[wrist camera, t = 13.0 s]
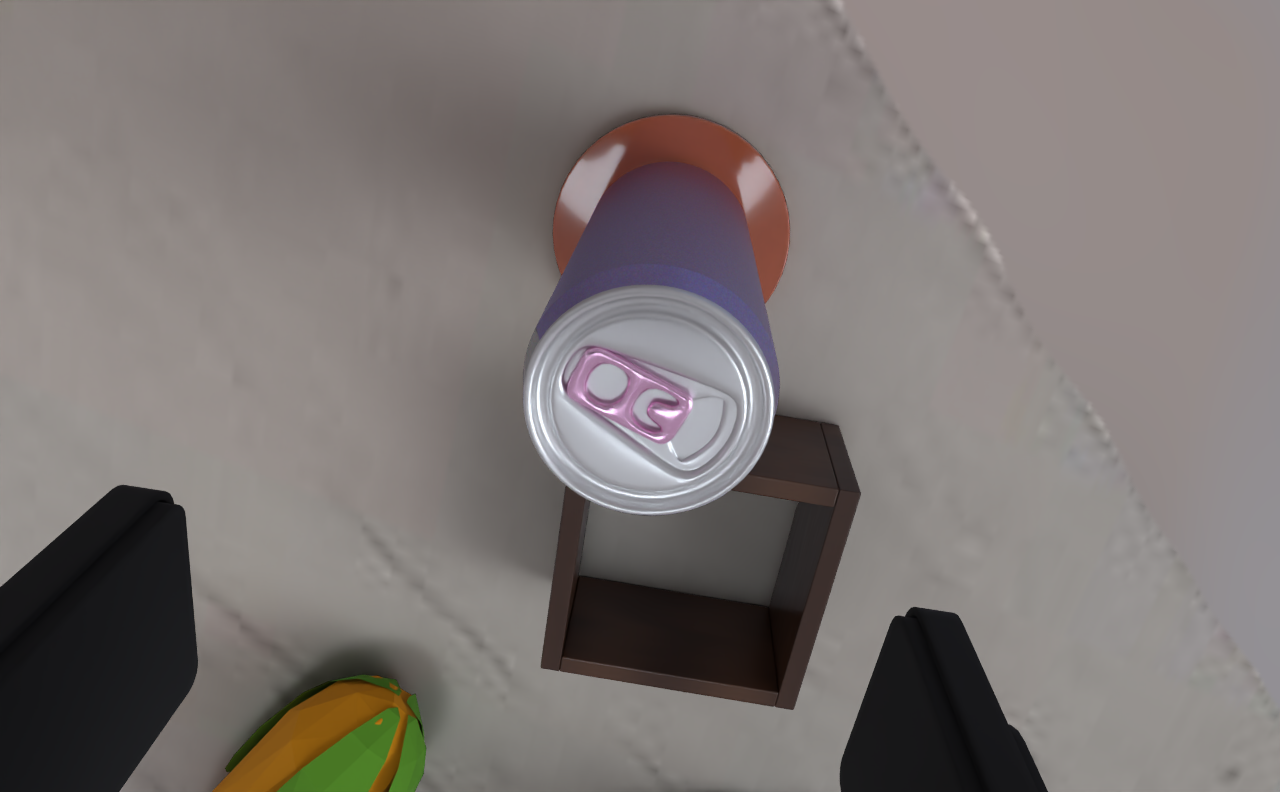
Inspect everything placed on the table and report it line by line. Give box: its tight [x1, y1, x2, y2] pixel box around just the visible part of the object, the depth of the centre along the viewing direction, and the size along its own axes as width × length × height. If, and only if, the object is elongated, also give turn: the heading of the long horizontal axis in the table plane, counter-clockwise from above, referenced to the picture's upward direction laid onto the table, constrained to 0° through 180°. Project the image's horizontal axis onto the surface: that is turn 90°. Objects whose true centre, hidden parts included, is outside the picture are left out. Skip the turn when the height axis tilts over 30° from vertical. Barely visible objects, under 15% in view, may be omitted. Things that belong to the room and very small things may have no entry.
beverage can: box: [523, 162, 780, 516], centre depth 26 cm, size 6×6×15 cm
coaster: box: [553, 114, 790, 303], centre depth 33 cm, size 9×9×1 cm
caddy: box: [541, 415, 861, 710], centre depth 36 cm, size 11×11×6 cm
